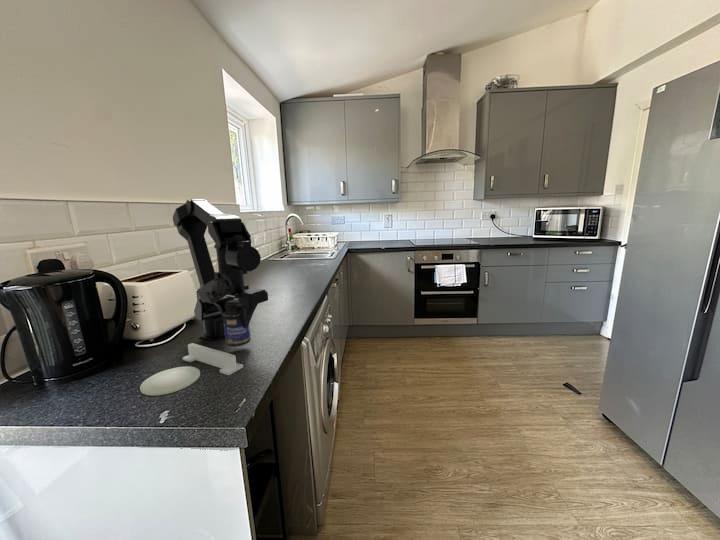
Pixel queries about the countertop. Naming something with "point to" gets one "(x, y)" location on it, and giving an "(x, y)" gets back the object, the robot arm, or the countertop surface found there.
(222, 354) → the low wall
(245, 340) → the pill bottle
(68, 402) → the countertop surface
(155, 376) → the pad
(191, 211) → the robot arm
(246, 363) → the countertop surface
